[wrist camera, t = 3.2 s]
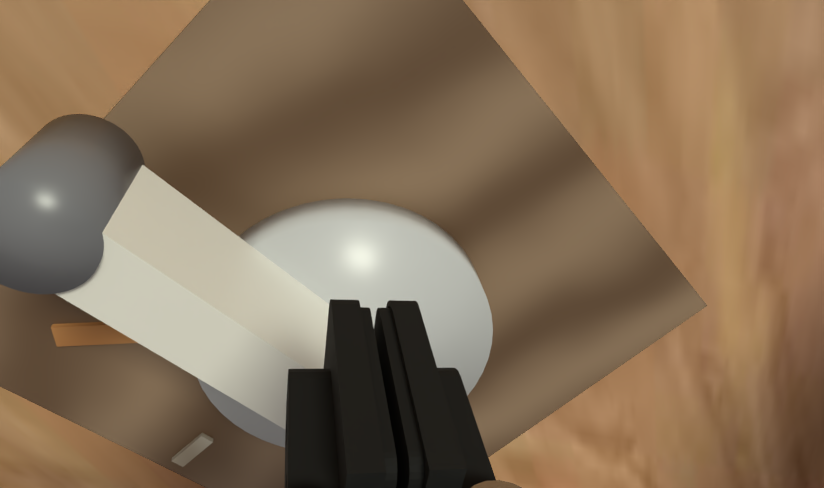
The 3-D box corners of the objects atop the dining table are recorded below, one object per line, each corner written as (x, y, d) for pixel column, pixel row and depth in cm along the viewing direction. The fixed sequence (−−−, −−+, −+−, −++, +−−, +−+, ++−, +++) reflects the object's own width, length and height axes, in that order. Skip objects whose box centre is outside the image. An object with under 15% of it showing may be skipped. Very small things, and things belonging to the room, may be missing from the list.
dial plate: (683, 279, 28) (709, 308, 26) (344, 521, 33) (345, 559, 32) (341, -146, 18) (344, -149, 16) (-65, 306, 23) (-98, 343, 21)
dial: (535, 315, 25) (591, 424, 20) (345, 458, 28) (352, 584, 23) (176, -24, 17) (119, 18, 12) (-41, 228, 20) (-161, 346, 15)
